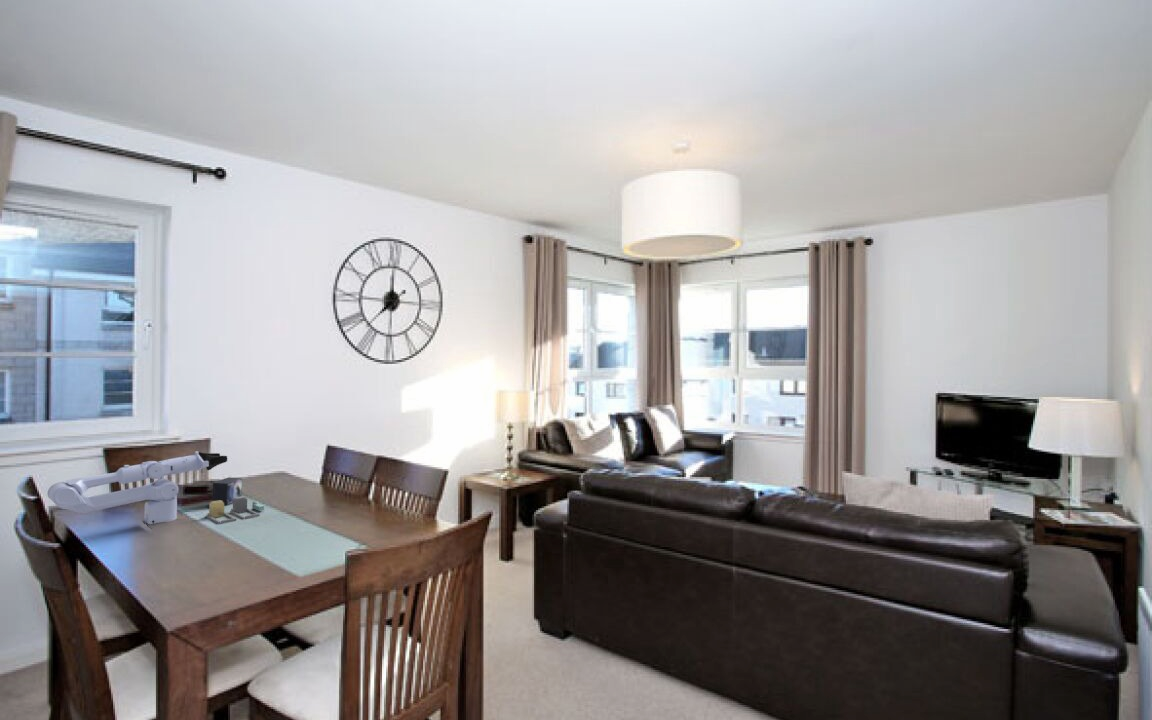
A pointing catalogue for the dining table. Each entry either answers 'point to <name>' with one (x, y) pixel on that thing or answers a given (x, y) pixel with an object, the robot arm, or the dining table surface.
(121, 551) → the dining table surface
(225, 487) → the small box
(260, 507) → the paddle
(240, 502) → the slider graphite
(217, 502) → the slider brass
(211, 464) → the robot arm
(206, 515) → the control board
